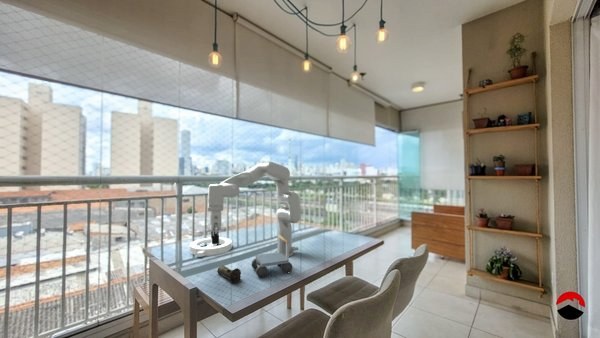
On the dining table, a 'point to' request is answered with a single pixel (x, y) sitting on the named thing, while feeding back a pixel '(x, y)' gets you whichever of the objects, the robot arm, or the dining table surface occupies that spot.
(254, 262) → the trolley
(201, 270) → the dining table surface
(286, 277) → the dining table surface
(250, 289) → the dining table surface
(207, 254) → the ring with crossbar
